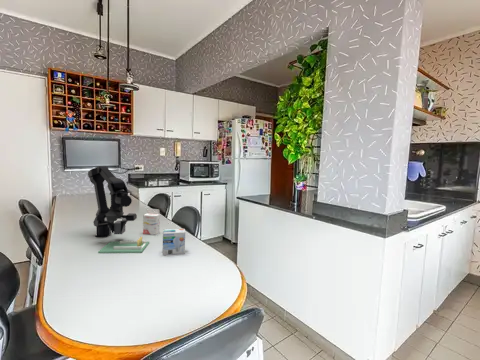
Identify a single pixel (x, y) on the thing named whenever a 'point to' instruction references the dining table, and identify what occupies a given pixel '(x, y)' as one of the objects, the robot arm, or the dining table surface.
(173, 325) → the dining table surface
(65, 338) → the dining table surface
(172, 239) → the light bulb box
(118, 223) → the block
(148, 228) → the ink cartridge box
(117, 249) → the board
